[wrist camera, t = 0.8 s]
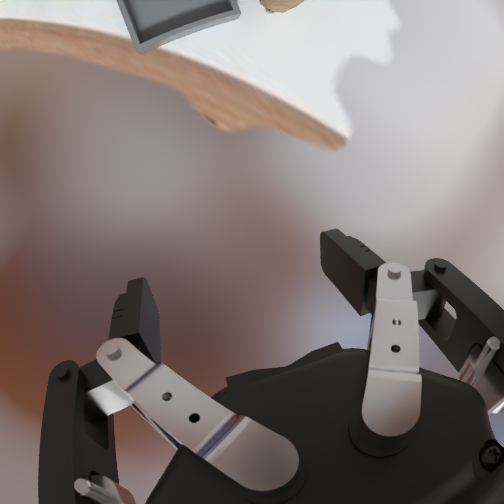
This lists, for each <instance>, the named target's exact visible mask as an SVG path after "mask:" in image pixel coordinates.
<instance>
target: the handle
mask: <svg viewBox="0 0 504 504" xmlns="http://www.w3.org/2000/svg"><path fill="white" fill-rule="evenodd" d="M303 1H304V0H260V4H262V5H263V6H264V7H265V8H266V11H267V12H269V13H274V12H281V13H283V12H285V11H287V10H290V9H292V8H294V7H296V6H298V5H299V4H300V3H302V2H303Z"/></svg>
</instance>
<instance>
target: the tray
mask: <svg viewBox="0 0 504 504" xmlns="http://www.w3.org/2000/svg"><path fill="white" fill-rule="evenodd" d="M117 3H118V5H119V8H120V10H121V13H122V16H123V18H124V21H125V23H126V26H127V29H128V31H129V34H130V36H131V39H132V41H133V44H134V46H135V49H136V51H137V52H139V53H141V54H143V53H146V52H148V51H150V50H152V49H154V48H157V47H159V46H161V45H164V44H166V43H168V42H171V41H173V40H176V39H178V38H181V37H184V36H186V35H189V34H192V33H194V32H197V31H200V30H203V29H206V28H209V27H212V26H215V25H219V24H222V23H225V22H229V21H232V20H236V19H238V18H239V16H240V14H241V11H240V9H239V6H238V4H237V1H236V0H117Z"/></svg>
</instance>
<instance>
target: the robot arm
mask: <svg viewBox="0 0 504 504" xmlns="http://www.w3.org/2000/svg"><path fill="white" fill-rule="evenodd" d="M320 252H321V266H322V269H323V272H324V273H325V275H326V276H327V277H328V278H329V279H330V281H331V282H332V283H333V284H334V285H335V286H336V288H338V290H339V291H340V292H341V293H342V295H343V296H344V297H345V298H346V299H347V301H348V302H349V303H350V304H351V305H352V307H353V308H354V309H355V310H356V311H357V313H358V314H359V315H360V316H362V315H365V314H367V313H371V314H372V317H371V324H370V331H369V339H368V346H367V350H365V349H356V348H350V349H342V348H341V346H340V344H339V343H338V342H336V343H334V344H331V345H328V346H325V347H323V348H320V349H317V350H314V351H312V352H310V353H308V354H307V355H305V356H304V357H302V358H300V359H299V360H297V361H295V362H294V363H292V364H290V365H288V366H286V367H278V368H269V369H257V370H252V371H248V372H245V373H241V374H237V375H234V376H230V377H226V381H227V385H228V386H227V387H225V388H223V389H221V390H220V391H218V392H217V393H215V394H214V395H213V396H212V397H211V398H210V397H209V396H207V395H206V394H204V393H203V392H201V391H200V390H198V389H197V388H195V387H194V386H192V385H191V384H190V383H188V382H187V381H186V380H184V379H183V378H181V377H180V376H179V375H177V374H176V373H175V372H173V371H172V370H171V369H169V368H168V367H167V366H165V365H164V364H163V363H161V346H160V317H159V311H158V308H157V305H156V302H155V300H154V297H153V295H152V292H151V290H150V287H149V285H148V282H147V280H146V278H145V277H142V278H138V279H134V280H130V281H128V285H127V292H126V293H125V294H121V295H120V296H119V297H118V299H117V300H116V302H115V304H114V309H113V314H112V320H111V326H110V332H109V339H108V341H107V342H105V343H104V344H103V345H102V346H101V347H100V348H99V350H98V352H97V356H96V357H97V359H96V360H94V361H92V362H90V363H88V364H86V365H84V366H81V367H79V366H78V365H77V364H76V363H75V362H74V361H71V360H67V361H63V362H61V363H59V364H58V365H56V366H55V367H54V368H53V370H52V372H51V373H50V376H49V381H48V386H47V392H46V398H45V405H44V412H43V420H42V429H41V440H40V452H39V476H38V480H39V481H38V491H39V492H38V493H39V494H38V496H39V504H136V503H135V500H134V497H133V495H132V494H131V493H130V492H129V490H127V489H126V488H124V487H122V486H121V485H119V479H118V470H117V461H116V450H115V436H114V415H113V413H114V412H117V411H119V410H121V409H123V408H125V407H127V406H129V405H131V406H132V407H133V408H134V409H135V410H136V411H137V412H138V413H139V414H140V415H141V416H142V417H143V418H144V419H145V420H146V421H147V422H148V423H149V424H150V425H151V426H153V427H154V428H155V429H156V430H157V431H158V432H159V433H160V434H161V435H162V436H163V437H164V438H165V439H166V440H167V441H168V442H169V443H170V444H171V445H172V446H174V447H175V448H176V449H177V451H176V453H175V455H174V456H173V458H172V460H171V461H170V463H169V465H168V466H167V468H166V470H165V471H164V473H163V475H162V476H161V478H160V479H159V481H158V483H157V484H156V486H155V488H154V489H153V491H152V492H151V494H150V496H149V498H148V499H147V501H146V503H145V504H504V448H503V447H502V446H501V445H500V444H499V443H498V442H497V440H496V438H495V436H494V434H493V431H492V428H491V425H490V421H489V416H488V415H489V414H490V413H491V412H492V413H499V412H501V411H503V410H504V310H503V309H502V308H501V307H500V306H499V305H498V304H497V303H496V302H495V301H494V300H493V299H491V298H490V297H489V296H488V295H487V294H486V293H485V292H484V291H483V290H482V289H480V288H479V287H478V286H477V285H476V284H475V283H474V282H472V281H471V280H470V279H469V278H468V277H467V276H465V275H464V274H463V273H461V271H459V270H458V269H457V268H456V267H454V266H453V265H452V264H451V263H450V262H448V261H446V260H443V259H438V258H434V259H430V260H428V261H427V262H426V264H425V269H424V270H422V271H413V272H410V270H409V269H408V268H407V267H406V266H404V265H402V264H399V263H392V262H391V263H386V262H385V261H383V260H382V259H381V258H380V257H379V256H378V255H376V254H375V253H374V252H373V251H371V250H370V249H369V248H368V247H367V246H365V245H364V244H363V243H362V242H361V241H359V240H358V239H355V238H353V237H350V236H346V235H344V234H343V233H342V232H341V231H340V230H338V229H332V230H329V231H325V232H322V233H321V235H320ZM446 301H447V302H448V303H449V304H450V305H451V306H452V307H453V308H454V309H455V311H456V314H457V319H456V320H455V319H454V318H453V317H452V316H451V315H450V314H449V312H448V311H447V310H446V309H445V308H444V306H445V303H446ZM418 324H419V325H420V326H421V327H422V328H423V329H424V330H425V332H426V333H427V334H428V335H429V336H430V338H431V339H432V340H433V341H434V342H435V344H436V345H437V346H438V347H439V349H440V350H441V351H442V352H443V354H444V355H445V356H446V357H447V359H448V360H449V361H450V362H451V363H452V365H453V366H454V367H455V368H456V370H457V371H458V372H459V379H460V380H457V379H454V378H450V377H447V376H444V375H440V374H438V373H435V372H432V371H428V370H425V369H422V368H419V332H418V331H419V329H418Z"/></svg>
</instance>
